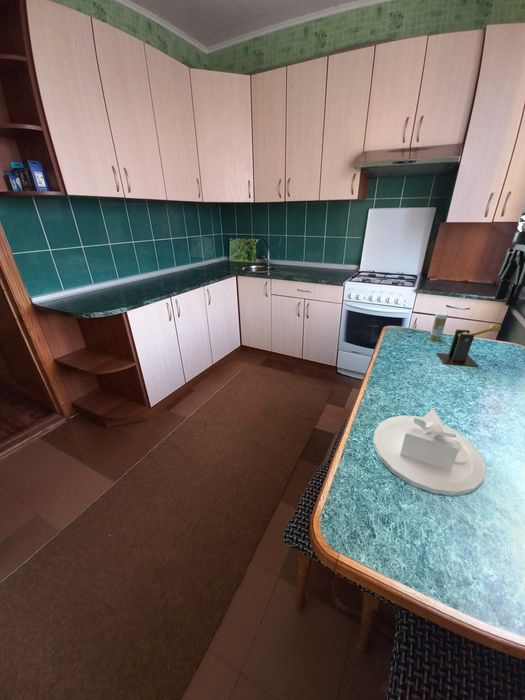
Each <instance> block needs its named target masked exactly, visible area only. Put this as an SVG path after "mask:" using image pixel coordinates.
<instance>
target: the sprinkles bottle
mask: <svg viewBox="0 0 525 700" xmlns="http://www.w3.org/2000/svg"><path fill="white" fill-rule="evenodd" d="M448 317H449V314H448V313H447V312H445V311H436V312H435V316H434V321H433V324H432V328H431V331H430V335H429V340H430V341H432V342H440V341H441V339H442V336H443V333H444V329H445V326H446V322H447V319H448Z"/></svg>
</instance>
